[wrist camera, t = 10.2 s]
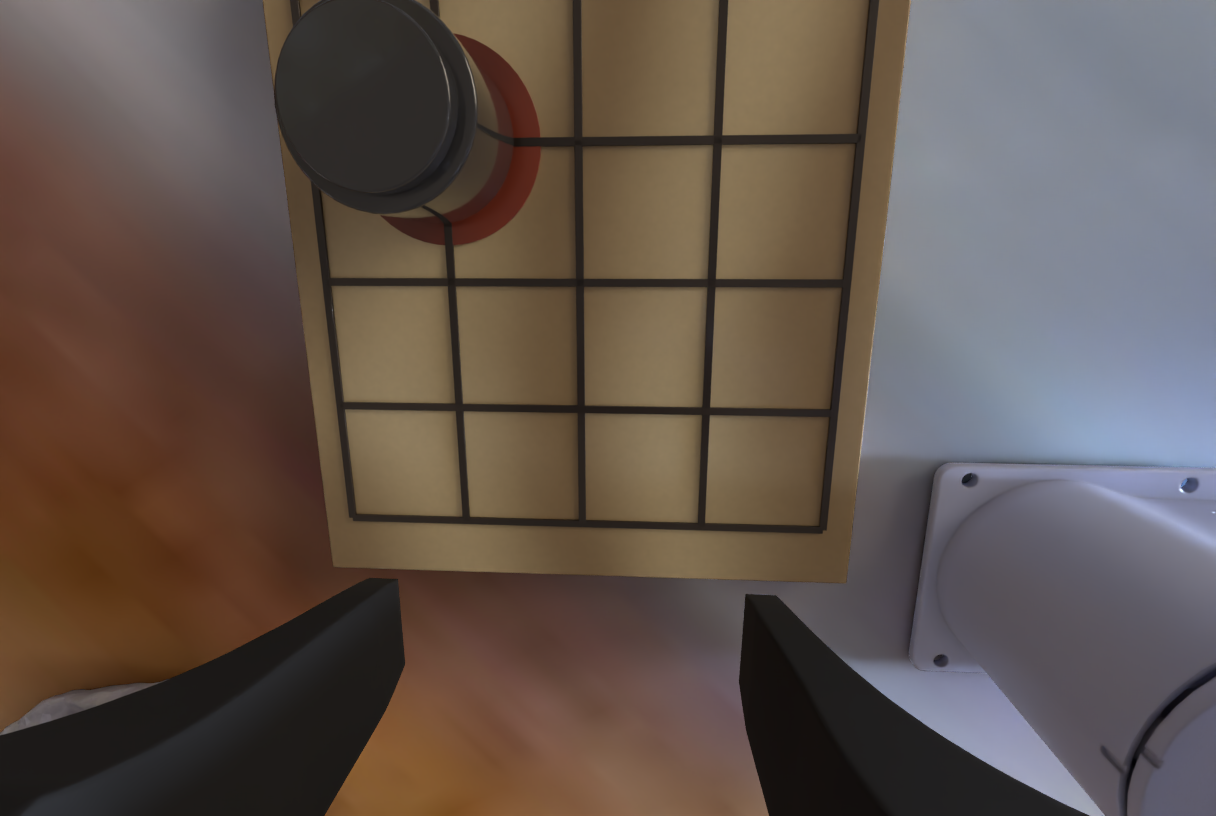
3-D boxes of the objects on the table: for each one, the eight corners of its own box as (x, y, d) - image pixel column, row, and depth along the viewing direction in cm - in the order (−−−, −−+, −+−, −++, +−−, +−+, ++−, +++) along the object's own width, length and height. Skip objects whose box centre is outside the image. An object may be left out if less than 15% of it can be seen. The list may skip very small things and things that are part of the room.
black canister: (515, 54, 16) (462, -32, 12) (521, 225, 18) (474, 211, 13) (356, 57, 17) (239, -26, 12) (371, 225, 18) (270, 212, 13)
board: (899, -81, 17) (926, -117, 15) (832, 562, 21) (848, 585, 20) (282, -62, 18) (247, -94, 16) (352, 547, 22) (330, 569, 21)
